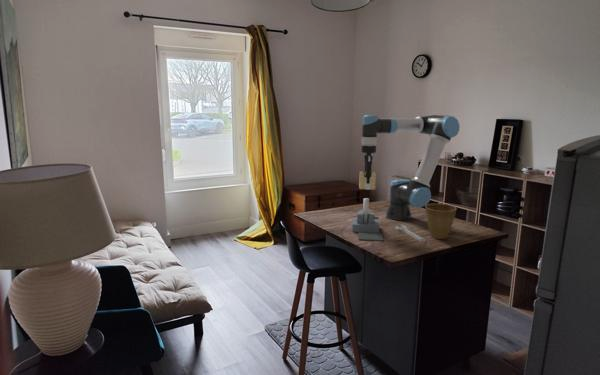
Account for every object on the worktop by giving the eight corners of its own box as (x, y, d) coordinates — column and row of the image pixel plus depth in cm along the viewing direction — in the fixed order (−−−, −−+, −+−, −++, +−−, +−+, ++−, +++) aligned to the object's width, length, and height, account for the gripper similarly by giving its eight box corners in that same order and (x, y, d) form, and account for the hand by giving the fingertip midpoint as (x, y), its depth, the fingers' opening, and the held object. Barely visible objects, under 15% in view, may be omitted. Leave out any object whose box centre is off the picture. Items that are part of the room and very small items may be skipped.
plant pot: (437, 230, 210) (440, 202, 206) (460, 239, 197) (463, 208, 193) (417, 234, 203) (419, 205, 200) (438, 243, 190) (441, 212, 187)
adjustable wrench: (426, 243, 192) (426, 239, 191) (414, 244, 191) (414, 240, 190) (403, 227, 216) (403, 224, 215) (393, 228, 214) (393, 225, 214)
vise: (376, 226, 216) (378, 197, 212) (378, 232, 205) (380, 201, 202) (351, 225, 217) (352, 196, 214) (352, 231, 206) (353, 200, 203)
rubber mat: (381, 234, 203) (381, 233, 203) (383, 241, 192) (383, 240, 192) (358, 233, 204) (358, 232, 204) (359, 240, 193) (359, 239, 193)
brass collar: (373, 186, 210) (374, 171, 208) (375, 189, 202) (375, 174, 200) (359, 186, 211) (359, 171, 209) (359, 189, 203) (360, 174, 201)
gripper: (360, 143, 212) (358, 183, 217) (362, 146, 192) (360, 191, 197) (374, 143, 211) (372, 184, 216) (378, 147, 191) (375, 192, 196)
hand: (366, 187), depth 206 cm, fingers closed on brass collar, 8 cm apart
